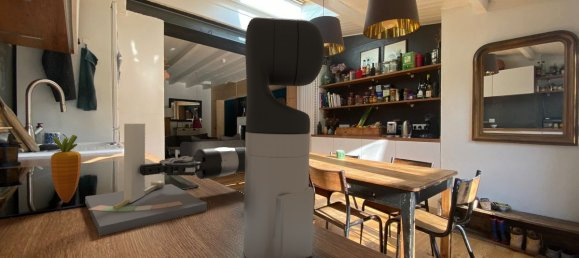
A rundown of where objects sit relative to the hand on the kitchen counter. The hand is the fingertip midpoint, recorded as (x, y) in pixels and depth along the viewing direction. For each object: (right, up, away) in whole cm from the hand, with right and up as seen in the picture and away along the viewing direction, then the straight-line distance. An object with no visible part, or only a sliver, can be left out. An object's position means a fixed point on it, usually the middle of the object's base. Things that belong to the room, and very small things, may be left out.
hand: (140, 170), depth 53 cm
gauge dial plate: (0, -8, +1) cm, 8 cm away
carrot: (-18, -8, +2) cm, 19 cm away
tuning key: (-1, -6, +3) cm, 7 cm away
